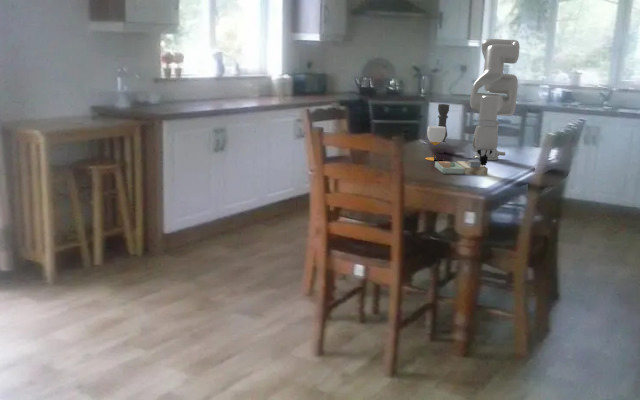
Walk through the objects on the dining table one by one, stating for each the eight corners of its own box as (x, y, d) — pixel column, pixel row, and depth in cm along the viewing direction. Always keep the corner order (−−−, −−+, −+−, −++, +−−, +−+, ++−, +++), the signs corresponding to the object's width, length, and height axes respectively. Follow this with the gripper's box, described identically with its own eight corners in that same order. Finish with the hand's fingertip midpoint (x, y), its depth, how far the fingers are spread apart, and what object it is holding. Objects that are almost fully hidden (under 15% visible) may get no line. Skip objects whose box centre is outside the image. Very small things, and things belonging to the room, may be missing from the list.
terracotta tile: (438, 161, 310) (438, 166, 311) (440, 162, 306) (440, 168, 307) (448, 161, 311) (447, 166, 311) (450, 163, 306) (450, 168, 307)
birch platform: (477, 168, 314) (477, 161, 313) (487, 175, 298) (487, 168, 297) (455, 167, 313) (456, 161, 312) (464, 174, 298) (465, 167, 297)
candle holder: (446, 151, 357) (450, 104, 351) (444, 153, 351) (449, 105, 345) (435, 150, 359) (438, 103, 353) (433, 152, 353) (436, 104, 347)
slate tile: (477, 165, 303) (478, 160, 302) (480, 167, 298) (480, 162, 298) (467, 165, 302) (468, 159, 302) (470, 167, 298) (470, 161, 297)
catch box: (454, 167, 313) (455, 162, 312) (463, 174, 297) (464, 168, 297) (434, 166, 313) (435, 161, 312) (442, 173, 297) (442, 168, 296)
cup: (439, 161, 326) (442, 128, 322) (421, 159, 331) (424, 126, 327) (446, 159, 334) (449, 127, 330) (429, 157, 338) (431, 125, 334)
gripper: (501, 123, 300) (496, 163, 304) (468, 122, 299) (464, 162, 304) (506, 125, 293) (502, 166, 297) (472, 124, 292) (468, 165, 296)
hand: (483, 164), depth 300 cm, fingers closed
